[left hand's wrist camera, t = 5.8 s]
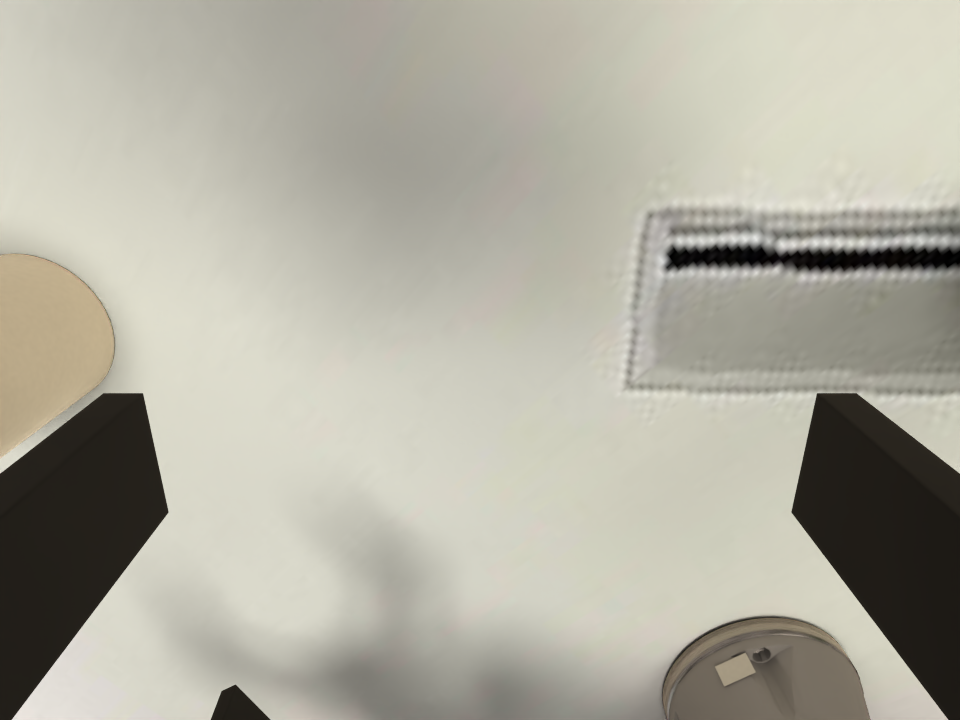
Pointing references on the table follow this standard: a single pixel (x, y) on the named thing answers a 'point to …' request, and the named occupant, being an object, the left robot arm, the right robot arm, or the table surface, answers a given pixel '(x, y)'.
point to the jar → (46, 344)
